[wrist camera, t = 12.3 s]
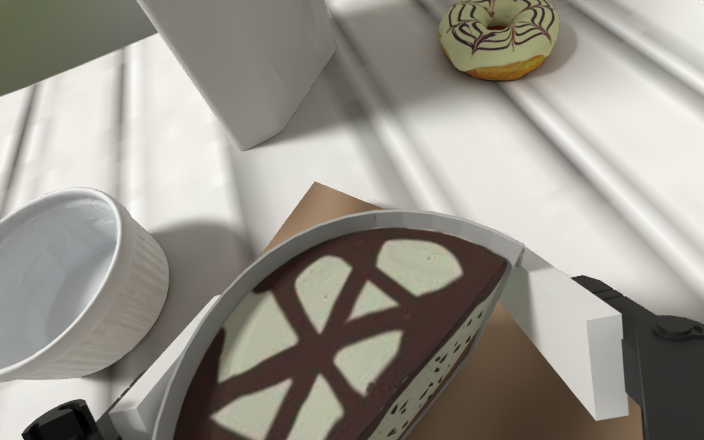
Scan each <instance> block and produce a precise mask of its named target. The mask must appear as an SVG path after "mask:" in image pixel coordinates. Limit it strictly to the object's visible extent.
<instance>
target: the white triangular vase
mask: <svg viewBox="0 0 704 440" xmlns="http://www.w3.org/2000/svg"><path fill="white" fill-rule="evenodd" d="M137 2H138V3H139V4H140V6H141V8H142V9H143V10H144V12H145V13H146V15H147V16H148V18H149V19H150V21H151V22H152V24H153V25H154V27H155V28H156V29H157V31H158V32H159V34H160V35H161V37H162V38H163V40H164V41H165V43H166V44H167V46H168V47H169V49H170V50H171V51H172V53H173V54H174V56H175V57H176V59H177V60H178V62H179V63H180V65H181V66H182V68H183V69H184V70H185V72H186V73H187V75H188V76H189V78H190V79H191V81H192V82H193V84H194V85H195V87H196V88H197V89H198V91H199V92H200V94H201V95H202V97H203V98H204V100H205V101H206V103H207V104H208V106H209V107H210V108H211V110H212V111H213V113H214V114H215V116H216V117H217V119H218V120H219V122H220V123H221V125H222V126H223V127H224V129H225V130H226V132H227V133H228V135H229V136H230V138H231V139H232V141H233V142H234V144H235V145H236V147H237V148H238V149H239V150H241V151H245V150H249V149H250V148H252V147H254V146H256V145H258V144H260V143H262V142H264V141H266V140H268V139H270V138H272V137H274V136H276V135H277V134H279V133H280V132H281V131H283V129H284V128H285V127H286V125H287V124H288V122H289V121H290V119H291V118H292V116H293V115H294V113H295V112H296V110H297V109H298V107H299V106H300V104H301V103H302V101H303V100H304V98H305V97H306V95H307V94H308V92H309V91H310V89H311V88H312V86H313V85H314V83H315V82H316V80H317V79H318V77H319V76H320V74H321V73H322V71H323V70H324V68H325V67H326V65H327V63H328V62H329V60H330V59H331V57H332V56H333V54H334V53H335V51H336V44H335V40H334V36H333V32H332V28H331V24H330V20H329V15H328V11H327V7H326V3H325V0H137Z"/></svg>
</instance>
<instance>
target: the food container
mask: <svg viewBox="0 0 704 440" xmlns="http://www.w3.org/2000/svg"><path fill="white" fill-rule="evenodd" d="M524 245H525V244H523V243H521V242H519V241H517V240H515V239H513V238H511V237H509V236H507V235H505V234H503V233H501V232H499V231H497V230H495V229H492V228H489V227H487V226H484V225H481V224H478V223H475V222H473V221H470V220H467V219H464V218H460V217H456V216H451V215H446V214H442V213H437V212H432V211H421V210H409V209H391V210H373V211H367V212H361V213H356V214H350V215H345V216H342V217H339V218H335V219H332V220H329V221H326V222H323V223H319V224H317V225H315V226H313V227H310V228H308V229H306V230H304V231H302V232H300V233H297V234H295V235H293V236H291V237H290V238H288V239H286V240H285V241H283V242H282V243H280V244H278V245H277V246H275V247H274V248H272V249H270V250H269V251H267V252H266V253H265V254H264V255H262V256H261V257H260V258H259V259H257V260H256V261H255V262H254V263H252V264H251V265H250V266H249V267H247V268H246V269H245V270H244V271H243V272H242V273H241V274H240V275H239V276H238V277H237V278H236V279H235V280H234V281H233V282H232V283H231V284H230V285H229V286H228V287H227V288H226V289H225V290H224V291H223V292H222V294H221V295H220V296H219V297H218V299H217V300H216V301H215V303H214V304H213V305H212V307H211V308H210V309H209V310H208V312H207V313H206V314H205V316H204V317H203V318H202V320H201V321H200V323H199V325H198V326H197V328H196V330H195V331H194V333H193V335H192V336H191V338H190V340H189V341H188V343H187V345H186V346H185V348H184V350H183V352H182V354H181V356H180V358H179V361H178V363H177V365H176V367H175V369H174V372H173V374H172V376H171V378H170V380H169V383H168V385H167V388H166V391H165V394H164V397H163V400H162V404H161V407H160V410H159V413H158V416H157V419H156V422H155V426H154V431H153V436H152V440H405V439H406V437H407V436H408V435H409V434H410V432H411V431H412V430H413V429H414V427H415V426H416V425H417V424H418V422H419V421H420V420H421V418H422V417H423V416H424V415H425V413H426V412H427V411H428V410H429V408H430V407H431V406H432V405H433V403H434V402H435V401H436V399H437V398H438V397H439V396H440V394H441V393H442V392H443V391H444V389H445V388H446V387H447V386H448V384H449V383H450V382H451V381H452V379H453V378H454V377H455V375H456V374H457V373H458V372H459V370H460V369H461V368H462V367H463V365H464V364H465V363H466V362H467V360H468V359H469V358H470V357H471V355H472V353H473V351H474V349H475V347H476V345H477V343H478V341H479V339H480V337H481V335H482V333H483V331H484V329H485V327H486V325H487V323H488V320H489V318H490V316H491V314H492V312H493V310H494V308H495V306H496V304H497V302H498V300H499V298H500V296H501V294H502V292H503V290H504V288H505V286H506V283H507V281H508V279H509V277H510V275H511V273H512V271H513V269H514V267H515V266H516V267H519V266H520V264H521V263H522V259H523V255H524V252H525V249H524Z"/></svg>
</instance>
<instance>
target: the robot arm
mask: <svg viewBox="0 0 704 440" xmlns="http://www.w3.org/2000/svg"><path fill="white" fill-rule="evenodd" d="M503 234H505V235H507V236H509V235H508V234H506V233H503ZM509 237H511V236H509ZM511 238H512V237H511ZM513 239H514V238H513ZM524 249H525V252H524V255H523V259H522V263H521V264H520V266H519V267H516V266H515V267H514V269H513V271H512V273H511V275H510V277H509V279H508V281H507V283H506V286H505V288H504V290H503V292H502V294H501V296H500V298H499V300H498V301H499V302H500V303H501V304H502V305H503V307H504V308H505V309H506V310H507V312H508V313H509V314H510V315H511V317H512V318H513V319H514V320H515V322H516V323H517V324H518V325H519V326H520V328H521V329H522V330H523V331H524V333H525V334H526V335H527V336H528V338H529V339H530V340H531V341H532V342H533V344H534V345H535V346H536V347H537V349H538V350H539V351H540V352H541V354H542V355H543V356H544V357H545V358H546V360H547V361H548V362H549V363H550V365H551V366H552V367H553V368H554V370H555V371H556V372H557V373H558V375H559V376H560V377H561V378H562V379H563V381H564V382H565V383H566V384H567V386H568V387H569V388H570V389H571V391H572V392H573V393H574V394H575V395H576V397H577V398H578V399H579V400H580V402H581V403H582V404H583V405H584V407H585V408H586V409H587V410H588V411H589V413H590V414H591V415H592V416H593V418H594V419H595V420H596V421H598V420H604V419H610V418H616V417H622V416H628V415H629V411H628V397H627V394H628V395H629V396H630V397H631V398H632V399H633V400H634V401H635V402H636V403H637V404H638V405H639V406H640V407H641V419H642V435H643V440H704V325H703V324H701V323H700V322H697V321H694V320H690V319H687V318H683V317H676V316H670V315H668V316H657V315H655V314H653V313H652V312H650V311H648V310H647V309H645V308H644V307H642V306H640V305H639V304H637V303H636V302H634V301H632V300H631V299H629V298H628V297H626V296H625V297H624V296H623V294H621V293H619V292H618V291H616V290H613V288H611V287H610V286H608V285H607V284H605V283H603V282H602V281H600V280H597V279H594V278H590V277H587V276H584V275H582V276H577V277H572V278H569V277H568V276H567V275H565V274H564V273H562V272H561V271H559V270H558V269H557V268H555V267H554V266H552V265H551V264H549V263H548V262H547V261H545V260H544V259H542V258H541V257H539V256H538V255H537V254H535V253H534V252H532V251H531V250H529V249H528V248H527V247H525V246H524ZM219 296H220V295H217V296H214V297H213V298H212V299H211V300H210V301H209V303H208V304H207V305H206V306H205V307H204V308H203V309H202V310H201V311H200V313H199V314H198V315H197V316H196V317H195V318H194V319H193V320H192V321H191V322H190V324H189V325H188V326H187V327H186V328H185V329H184V330H183V331H182V332H181V334H180V335H179V336H178V337H177V338H176V339H175V340H174V341H173V342H172V343H171V345H170V346H169V347H168V348H167V349H166V350H165V351H164V352H163V353H162V355H161V356H160V357H159V358H158V359H157V360H156V361H155V362H154V363H153V364H152V366H151V367H149V368H148V369H147V370H145V371H144V372H143V373H141V374H140V375H139V376H138V377H137V378H136V379H135V380H134V382H133V383H132V384H131V385H130V386H129V388H127V389H126V390H125V391H124V392H123V393H122V395H121V398H118V399H117V400H116V401H115V402H114V403H113V404H112V405H111V407H110V408H109V409H108V410H107V411H106V412H105V413H104V414H103V415H102V416H101V417H100V419H99V420H98V421H97V422H95V420H94V418H93V416H92V414H91V412H90V410H89V408H88V406H87V404H86V401H85V400H81V399H78V400H73V401H69V402H67V403H64V404H61V405H59V406H57V407H55V408H53V409H52V410H50V411H48V412H46V413H45V414H43V415H42V416H40V417H39V418H37V419H36V420H35V421H34V422H33V423H31V424H30V425H29V426H28V427H27V428H26V429H25V431H24V432H23V433H22V434H21V435H22V437H23V439H24V440H152V436H153V431H154V426H155V422H156V419H157V416H158V413H159V410H160V407H161V404H162V400H163V397H164V394H165V391H166V388H167V385H168V383H169V380H170V378H171V376H172V374H173V372H174V369H175V367H176V365H177V363H178V361H179V358H180V356H181V354H182V352H183V350H184V348H185V346H186V345H187V343H188V341H189V340H190V338H191V336H192V335H193V333H194V331H195V330H196V328H197V326H198V325H199V323H200V321H201V320H202V318H203V317H204V316H205V314H206V313H207V312H208V310H209V309H210V308H211V307H212V305H213V304H214V303H215V301H216V300H217V299H218V297H219Z"/></svg>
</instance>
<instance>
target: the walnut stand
mask: <svg viewBox="0 0 704 440" xmlns="http://www.w3.org/2000/svg"><path fill="white" fill-rule="evenodd" d="M373 210H384V209H381V208H379V207H376V206H374V205H372V204H369V203H367V202H364V201H362V200H359V199H357V198H354V197H352V196H349V195H347V194H345V193H342V192H340V191H337V190H335V189H332V188H330V187H327V186H325V185H322V184H320V183H318V182H314V183H313V185H312V186H311V187H310V189H309V190H308V191H307V193H306V194H305V196H304V197H303V198H302V200H301V201H300V202H299V204H298V205H297V206H296V208H295V209H294V210H293V212H292V213H291V215H290V216H289V217H288V219H287V220H286V221H285V223H284V224H283V225H282V227H281V228H280V230H279V231H278V232H277V234H276V235H275V236H274V238H273V239H272V240H271V242H270V243H269V245H268V246H267V247H266V249H265V250H264V251H263V253H262V254H261V255H260V257H261V256H262V255H264V254H265V253H266V252H267V251H269V250H270V249H272V248H274V247H275V246H277V245H278V244H280V243H282V242H283V241H285V240H286V239H288V238H290V237H291V236H293V235H295V234H297V233H300V232H302V231H304V230H306V229H308V228H310V227H313V226H315V225H317V224H319V223H323V222H326V221H329V220H332V219H335V218H339V217H342V216H345V215H350V214H356V213H361V212H367V211H373ZM260 257H259V258H260ZM259 258H258V259H259ZM627 397H628V411H629V415H628V416H622V417H616V418H610V419H604V420H598V421H596V420H595V419H594V418H593V416H592V415H591V414H590V413H589V411H588V410H587V409H586V408H585V407H584V405H583V404H582V403H581V402H580V400H579V399H578V398H577V397H576V395H575V394H574V393H573V392H572V391H571V389H570V388H569V387H568V386H567V384H566V383H565V382H564V381H563V379H562V378H561V377H560V376H559V375H558V373H557V372H556V371H555V370H554V368H553V367H552V366H551V365H550V363H549V362H548V361H547V360H546V358H545V357H544V356H543V355H542V354H541V352H540V351H539V350H538V349H537V347H536V346H535V345H534V344H533V342H532V341H531V340H530V339H529V338H528V336H527V335H526V334H525V333H524V331H523V330H522V329H521V328H520V326H519V325H518V324H517V323H516V322H515V320H514V319H513V318H512V317H511V315H510V314H509V313H508V312H507V310H506V309H505V308H504V307H503V305H502V304H501V303H500V302H499V301H498V302H497V304H496V306H495V308H494V310H493V312H492V314H491V316H490V318H489V320H488V323H487V325H486V327H485V329H484V331H483V333H482V335H481V337H480V339H479V341H478V343H477V345H476V347H475V349H474V351H473V353H472V355H471V357H470V358H469V359H468V360H467V362H466V363H465V364H464V365H463V367H462V368H461V369H460V370H459V372H458V373H457V374H456V375H455V377H454V378H453V379H452V381H451V382H450V383H449V384H448V386H447V387H446V388H445V389H444V391H443V392H442V393H441V394H440V396H439V397H438V398H437V399H436V401H435V402H434V403H433V405H432V406H431V407H430V408H429V410H428V411H427V412H426V413H425V415H424V416H423V417H422V418H421V420H420V421H419V422H418V424H417V425H416V426H415V427H414V429H413V430H412V431H411V432H410V434H409V435H408V436H407V437H406V439H405V440H643V435H642V419H641V407H640V406H639V405H638V404H637V403H636V402H635V401H634V400H633V399H632V398H631V397H630V396H629V395H628V394H627Z"/></svg>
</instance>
